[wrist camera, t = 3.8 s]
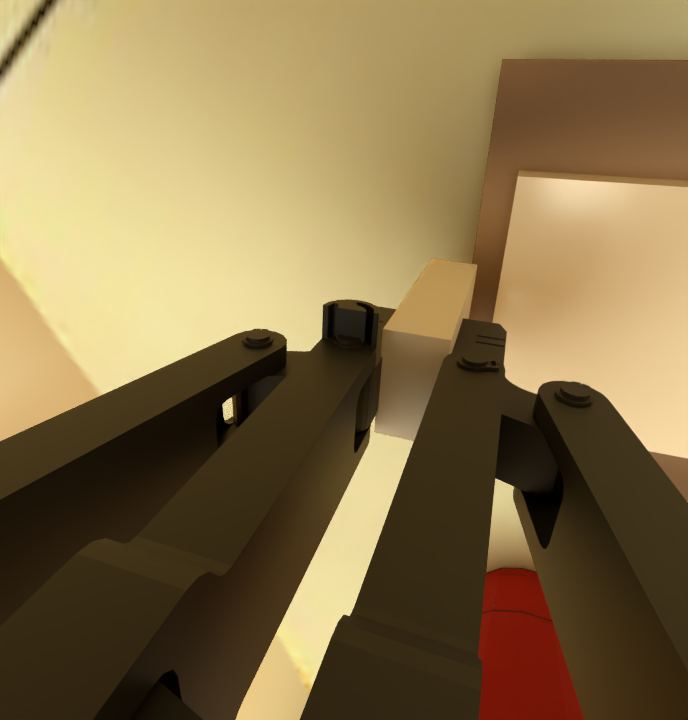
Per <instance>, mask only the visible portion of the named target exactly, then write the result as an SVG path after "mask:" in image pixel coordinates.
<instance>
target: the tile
mask: <svg viewBox="0 0 688 720" xmlns="http://www.w3.org/2000/svg"><path fill="white" fill-rule="evenodd" d="M492 323H498V324H500V325H501V326H502V327H503V328H504V329H505V330H506V331H507V336H506V346H505V356H504V367H505V377H506V378H507V379H508V380H509V381H510V382H511V383H512V384H514V385H516V386H518V387H519V388H522V389H524V390H527V391H529V392H532V393H535V394H537V392H538V388H539V387H540V386H541V385H542V384H543V383H546V382H550V381H568V382H572V381H575V382H579V383H581V384H585V385H588V386H590V387H591V388H593V389H595V390H596V391H598V392H600V393H602V394H603V395H604V396H605V397H606V398H607V399H609V401H610V402H611V403H612V405H613V406H614V407H615V408H616V410H617V411H618V412H619V414H620V415H621V416H622V418H623V419H624V420H625V421H626V423H627V424H628V425H629V427H630V428H631V429H632V431H633V432H634V433H635V434H636V436H637V437H638V438H639V440H640V441H641V442H642V444H643V445H644V446H645V447H646V449H647V450H648V451H651V452H656V453H661V454H667V455H672V456H677V457H682V458H687V459H688V181H686V180H670V179H654V178H638V177H621V176H605V175H589V174H573V173H557V172H541V171H524V170H519V173H518V178H517V184H516V190H515V196H514V201H513V207H512V213H511V219H510V224H509V230H508V236H507V242H506V247H505V253H504V259H503V265H502V270H501V276H500V282H499V288H498V293H497V299H496V305H495V311H494V316H493V322H492Z"/></svg>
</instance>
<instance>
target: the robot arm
mask: <svg viewBox="0 0 688 720" xmlns="http://www.w3.org/2000/svg"><path fill="white" fill-rule="evenodd" d="M476 272H477V265H476V264H468V263H460V262H452V261H444V260H436V259H431V261H430V262H429V264H428V265H427V267H426V268H425V269H424V271H423V272H422V274H421V275H420V277H419V278H418V279H417V281H416V282H415V284H414V285H413V287H412V288H411V289H410V291H409V292H408V294H407V295H406V297H405V298H404V300H403V301H402V302H401V304H400V305H399V307H398V308H397V310H396V309H390V308H383V307H377V306H375V305H373V304H371V303H368V302H364V301H359V300H336V301H331V302H328V303H326V304H324V305H323V327H322V339H321V340H320V341H319V342H318V343H317V344H316V345H315V346H314V348H313V349H312V350H311V351H306V352H301V351H287V339H286V338H285V337H284V336H283V335H281V334H279V333H277V332H273V331H269V330H267V329H262V330H261V329H253V330H252V331H245V332H242V333H238V334H236V335H233V336H231V337H229V338H227V339H225V340H222V341H220V342H218V343H216V344H214V345H211V346H209V347H207V348H205V349H203V350H200V351H198V352H196V353H194V354H192V355H189V356H187V357H185V358H183V359H181V360H178V361H176V362H174V363H172V364H170V365H167V366H165V367H163V368H161V369H159V370H156V371H154V372H152V373H150V374H148V375H145V376H143V377H141V378H139V379H137V380H134V381H132V382H130V383H128V384H126V385H123V386H121V387H119V388H117V389H115V390H112V391H110V392H108V393H106V394H104V395H101V396H99V397H97V398H95V399H93V400H90V401H88V402H86V403H84V404H82V405H79V406H77V407H75V408H73V409H71V410H68V411H66V412H64V413H62V414H60V415H57V416H55V417H53V418H51V419H49V420H46V421H44V422H42V423H40V424H38V425H35V426H33V427H31V428H29V429H27V430H25V431H23V432H20V433H18V434H16V435H14V436H11V437H9V438H7V439H5V440H2V441H0V720H235V719H236V716H237V713H238V711H239V708H240V706H241V704H242V701H243V699H244V697H245V695H246V693H247V691H248V689H249V687H250V685H251V683H252V681H253V679H254V677H255V675H256V673H257V671H258V669H259V667H260V664H261V663H262V660H263V658H264V656H265V654H266V652H267V650H268V648H269V646H270V644H271V642H272V640H273V638H274V636H275V634H276V632H277V630H278V628H279V626H280V624H281V622H282V620H283V618H284V615H285V613H286V611H287V609H288V607H289V605H290V603H291V601H292V599H293V597H294V595H295V593H296V591H297V589H298V587H299V585H300V583H301V581H302V579H303V577H304V575H305V572H306V570H307V568H308V566H309V564H310V562H311V560H312V558H313V556H314V554H315V552H316V550H317V548H318V546H319V544H320V542H321V540H322V538H323V536H324V534H325V532H326V530H327V527H328V525H329V523H330V521H331V519H332V517H333V515H334V513H335V511H336V509H337V507H338V505H339V503H340V501H341V499H342V497H343V495H344V493H345V491H346V489H347V487H348V484H349V482H350V480H351V478H352V476H353V474H354V472H355V470H356V468H357V466H358V464H359V462H360V460H361V458H362V456H363V454H364V452H365V450H366V448H367V446H368V444H369V438H370V426H371V423H372V421H373V419H374V417H375V415H376V418H375V429H374V432H376V433H380V434H385V435H389V436H394V437H399V438H403V439H408V440H412V441H414V443H413V445H412V448H411V451H410V454H409V457H408V459H407V462H406V465H405V468H404V470H403V473H402V476H401V479H400V481H399V484H398V487H397V490H396V493H395V495H394V498H393V501H392V504H391V506H390V509H389V512H388V515H387V518H386V520H385V523H384V526H383V529H382V531H381V534H380V537H379V540H378V542H377V545H376V548H375V551H374V554H373V556H372V559H371V562H370V565H369V567H368V570H367V573H366V576H365V578H364V581H363V584H362V587H361V590H360V592H359V595H358V598H357V601H356V603H355V606H354V608H353V611H352V613H351V615H350V616H347V615H343V616H342V618H341V619H340V620H339V622H338V624H337V626H336V628H335V631H334V633H333V635H332V637H331V640H330V642H329V645H328V648H327V650H326V653H325V655H324V658H323V661H322V663H321V666H320V668H319V671H318V674H317V676H316V679H315V681H314V684H313V687H312V689H311V692H310V695H309V697H308V700H307V702H306V705H305V708H304V710H303V713H302V715H301V718H300V720H479V712H480V700H481V688H482V671H483V669H482V660H481V659H479V656H478V654H479V641H480V630H481V620H482V610H483V599H484V589H485V578H486V568H487V558H488V547H489V537H490V526H491V516H492V506H493V495H494V485H495V478H497V479H499V480H501V481H503V482H505V483H508V484H510V485H512V486H514V490H513V499H514V502H515V506H516V509H517V512H518V515H519V518H520V521H521V524H522V527H523V530H524V534H525V537H526V540H527V543H528V546H529V549H530V552H531V555H532V558H533V562H534V565H535V568H536V571H537V574H538V577H539V580H540V583H541V586H542V590H543V593H544V596H545V599H546V602H547V605H548V608H549V611H550V614H551V618H552V621H553V624H554V627H555V630H556V633H557V636H558V639H559V642H560V646H561V649H562V652H563V655H564V658H565V661H566V664H567V667H568V670H569V674H570V677H571V680H572V683H573V686H574V689H575V692H576V695H577V698H578V702H579V705H580V708H581V711H582V714H583V717H584V720H688V502H687V501H686V500H685V498H684V497H683V496H682V494H681V493H680V492H679V490H678V489H677V488H676V487H675V485H674V484H673V483H672V481H671V480H670V479H669V477H668V476H667V475H666V474H665V472H664V471H663V470H662V468H661V467H660V466H659V464H658V463H657V462H656V461H655V459H654V458H653V457H652V455H651V454H650V453H649V451H648V450H647V449H646V447H645V446H644V445H643V444H642V442H641V441H640V440H639V438H638V437H637V436H636V434H635V433H634V432H633V431H632V429H631V428H630V427H629V425H628V424H627V423H626V421H625V420H624V419H623V418H622V416H621V415H620V414H619V412H618V411H617V410H616V408H615V407H614V406H613V405H612V403H611V402H610V401H609V399H607V398H606V397H605V396H604V395H603V394H602V393H600V392H598V391H596V390H595V389H593V388H591V387H590V386H588V385H585V384H581V383H579V382H575V381H572V382H568V381H550V382H546V383H543V384H542V385H541V386H540V387H539V388H538V392H537V394H535V393H532V392H529V391H527V390H524V389H522V388H519V387H518V386H516V385H514V384H512V383H511V382H510V381H509V380H508V379H507V378H506V377H505V367H504V356H505V346H506V336H507V331H506V330H505V329H504V328H503V327H502V326H501V325H500V324H498V323H491V322H484V321H478V320H471V319H469V314H470V308H471V302H472V296H473V290H474V284H475V278H476ZM231 397H232V403H233V417H231V418H230V419H228V420H224V418H223V407H222V404H223V403H224V402H225V401H226V400H227V399H229V398H231Z"/></svg>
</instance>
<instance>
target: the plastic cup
mask: <svg viewBox="0 0 688 720" xmlns="http://www.w3.org/2000/svg"><path fill="white" fill-rule="evenodd" d="M478 656H479V659H481V660H482V669H483V671H482V688H481V700H480V712H479V720H584V717H583V714H582V711H581V708H580V705H579V702H578V698H577V695H576V692H575V689H574V686H573V683H572V680H571V677H570V674H569V670H568V667H567V664H566V661H565V658H564V655H563V652H562V649H561V646H560V642H559V639H558V636H557V633H556V630H555V627H554V624H553V621H552V618H551V614H550V611H549V608H548V605H547V602H546V599H545V596H544V593H543V590H542V586H541V583H540V580H539V577H538V574H537V573H535V572H532V571H528V570H525V569H499V570H496V571H493V572H490V573H486V578H485V589H484V599H483V610H482V620H481V630H480V641H479V654H478Z"/></svg>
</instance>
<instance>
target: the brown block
mask: <svg viewBox="0 0 688 720" xmlns="http://www.w3.org/2000/svg"><path fill="white" fill-rule="evenodd" d="M519 170H524V171H541V172H557V173H573V174H589V175H605V176H621V177H638V178H654V179H670V180H686V181H688V60H532V59H502V65H501V72H500V79H499V86H498V92H497V99H496V106H495V113H494V120H493V126H492V133H491V140H490V147H489V154H488V160H487V167H486V174H485V181H484V188H483V194H482V201H481V208H480V215H479V222H478V228H477V235H476V242H475V249H474V256H473V263H472V264H476V265H477V272H476V278H475V284H474V290H473V296H472V302H471V308H470V314H469V319H471V320H478V321H484V322H491V323H492V322H493V316H494V311H495V305H496V299H497V293H498V288H499V282H500V276H501V270H502V265H503V259H504V253H505V247H506V242H507V236H508V230H509V224H510V219H511V213H512V207H513V201H514V196H515V190H516V184H517V178H518V173H519ZM649 453H650V454H651V455H652V457H653V458H654V459H655V461H656V462H657V463H658V464H659V466H660V467H661V468H662V470H663V471H664V472H665V474H666V475H667V476H668V477H669V479H670V480H671V481H672V483H673V484H674V485H675V487H676V488H677V489H678V490H679V492H680V493H681V494H682V496H683V497H684V498H685V500H686V501H688V459H687V458H682V457H677V456H672V455H667V454H661V453H656V452H651V451H649Z"/></svg>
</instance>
